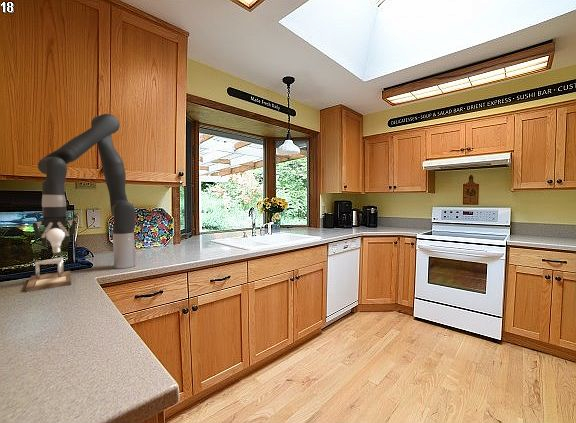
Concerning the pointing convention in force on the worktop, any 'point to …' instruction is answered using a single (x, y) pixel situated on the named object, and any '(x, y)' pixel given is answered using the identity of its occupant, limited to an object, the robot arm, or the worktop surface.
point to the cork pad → (50, 281)
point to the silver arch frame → (50, 261)
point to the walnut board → (33, 279)
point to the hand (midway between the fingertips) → (56, 245)
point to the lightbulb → (55, 238)
